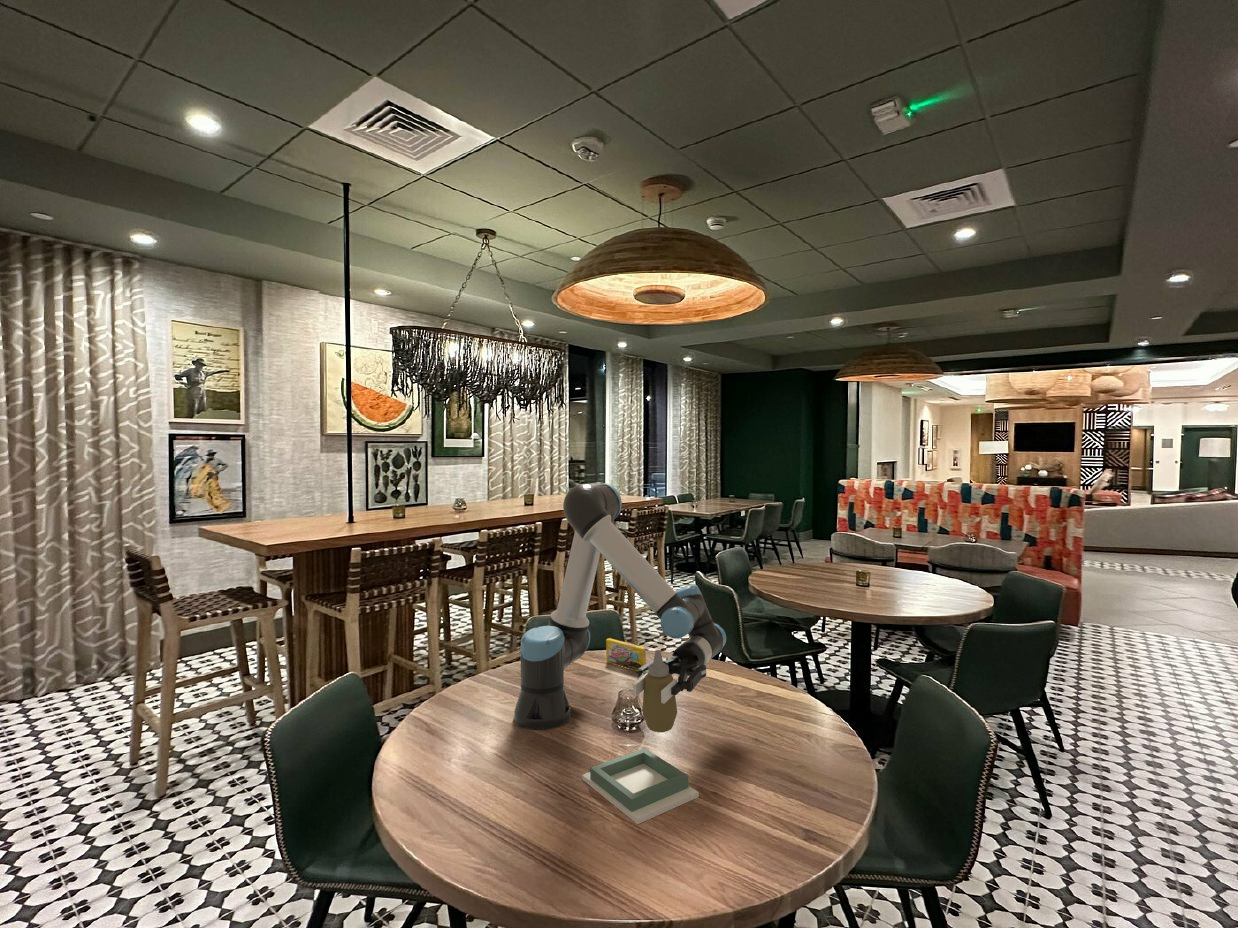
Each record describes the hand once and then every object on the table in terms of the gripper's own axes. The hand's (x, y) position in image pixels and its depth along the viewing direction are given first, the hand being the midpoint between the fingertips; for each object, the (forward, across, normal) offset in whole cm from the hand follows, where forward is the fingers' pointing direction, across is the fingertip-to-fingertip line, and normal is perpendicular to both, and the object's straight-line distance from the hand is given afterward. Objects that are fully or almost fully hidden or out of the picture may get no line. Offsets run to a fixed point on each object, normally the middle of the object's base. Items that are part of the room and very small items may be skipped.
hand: (648, 693), depth 133 cm
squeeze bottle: (-5, 0, -10) cm, 12 cm away
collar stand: (+7, -1, -18) cm, 19 cm away
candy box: (-56, +40, -24) cm, 73 cm away
